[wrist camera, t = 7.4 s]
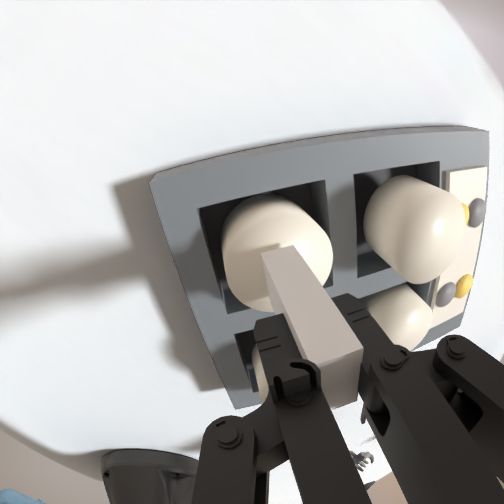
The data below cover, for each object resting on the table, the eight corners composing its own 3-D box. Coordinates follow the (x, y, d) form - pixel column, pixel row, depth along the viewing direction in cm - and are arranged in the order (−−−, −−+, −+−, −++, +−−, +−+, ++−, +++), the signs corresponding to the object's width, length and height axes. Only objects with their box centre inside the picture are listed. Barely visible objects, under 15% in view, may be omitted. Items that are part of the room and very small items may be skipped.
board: (231, 386, 23) (236, 415, 20) (156, 172, 15) (146, 185, 12) (445, 311, 25) (463, 329, 22) (465, 126, 16) (495, 132, 13)
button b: (231, 287, 18) (239, 322, 15) (210, 206, 15) (213, 230, 12) (313, 265, 18) (334, 296, 15) (304, 185, 16) (328, 203, 13)
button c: (351, 340, 22) (369, 370, 19) (353, 289, 20) (376, 318, 17) (404, 320, 22) (425, 345, 19) (411, 269, 20) (438, 293, 17)
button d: (363, 265, 17) (392, 295, 14) (361, 182, 15) (397, 200, 12) (426, 245, 17) (458, 269, 14) (430, 170, 15) (469, 185, 12)
